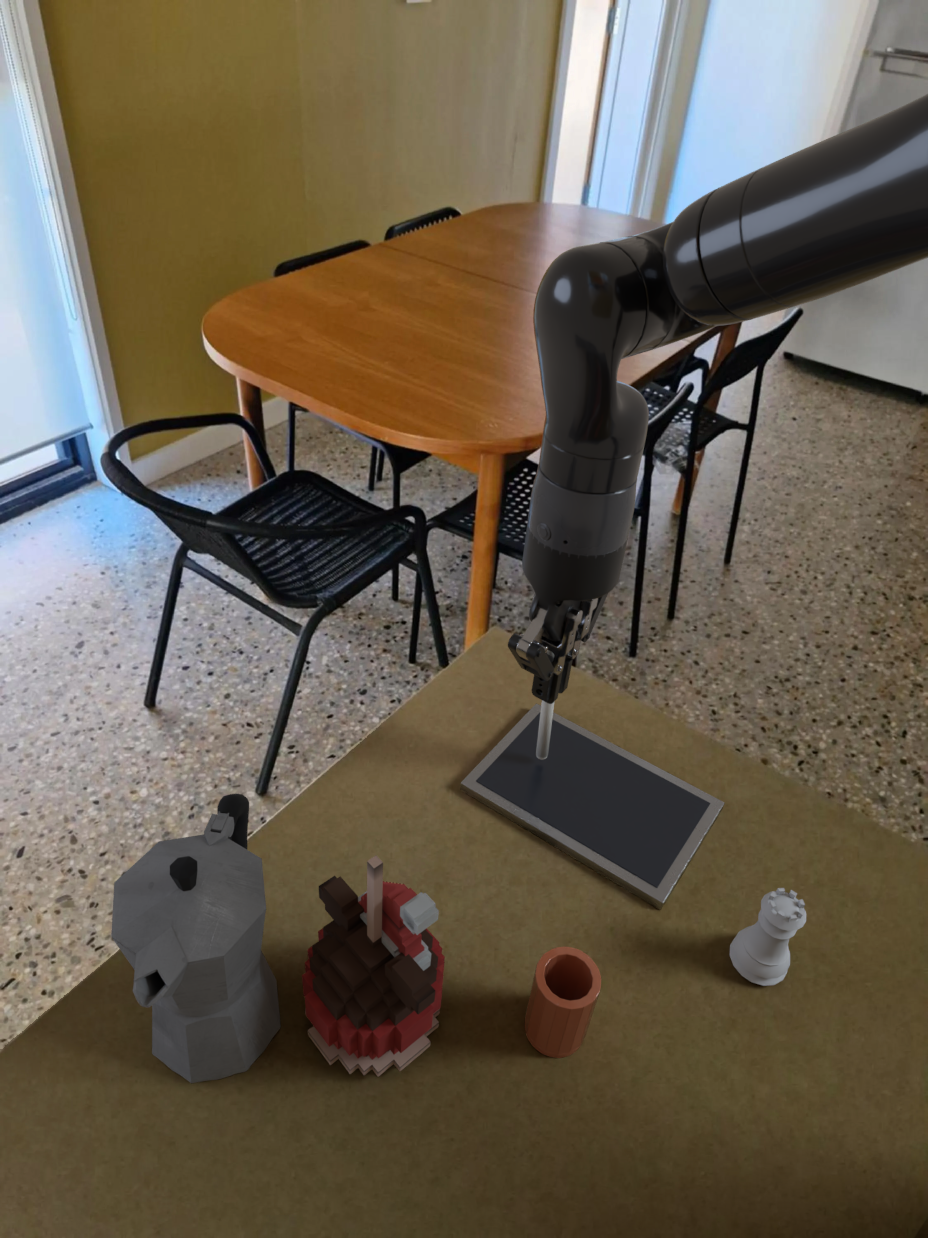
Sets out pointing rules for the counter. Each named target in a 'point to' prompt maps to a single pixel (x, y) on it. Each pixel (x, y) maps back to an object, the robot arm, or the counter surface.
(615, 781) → the tablet
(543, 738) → the stylus
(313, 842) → the counter surface
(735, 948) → the rook chess piece
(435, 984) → the cake
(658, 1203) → the counter surface
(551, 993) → the pen cup
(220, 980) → the coffeepot
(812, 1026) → the counter surface
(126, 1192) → the counter surface
